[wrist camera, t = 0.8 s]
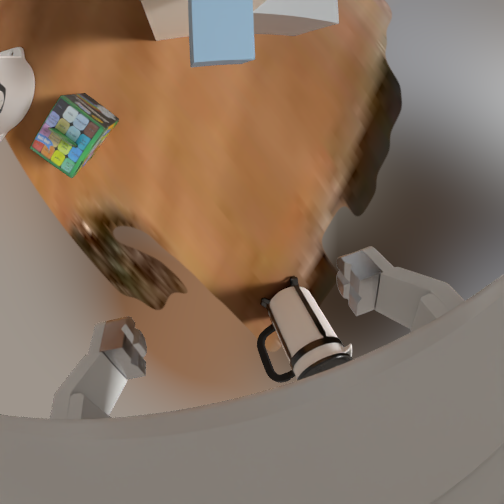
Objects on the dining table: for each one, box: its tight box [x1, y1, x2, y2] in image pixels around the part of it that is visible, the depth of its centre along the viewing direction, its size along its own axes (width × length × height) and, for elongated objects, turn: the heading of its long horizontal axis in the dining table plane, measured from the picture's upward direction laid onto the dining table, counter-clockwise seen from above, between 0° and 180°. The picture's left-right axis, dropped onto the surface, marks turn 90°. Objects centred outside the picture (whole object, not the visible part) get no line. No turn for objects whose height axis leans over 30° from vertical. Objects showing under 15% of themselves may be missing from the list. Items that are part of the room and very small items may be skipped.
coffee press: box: [257, 277, 352, 382], centre depth 61 cm, size 17×16×30 cm
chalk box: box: [30, 93, 119, 178], centre depth 32 cm, size 9×9×15 cm
